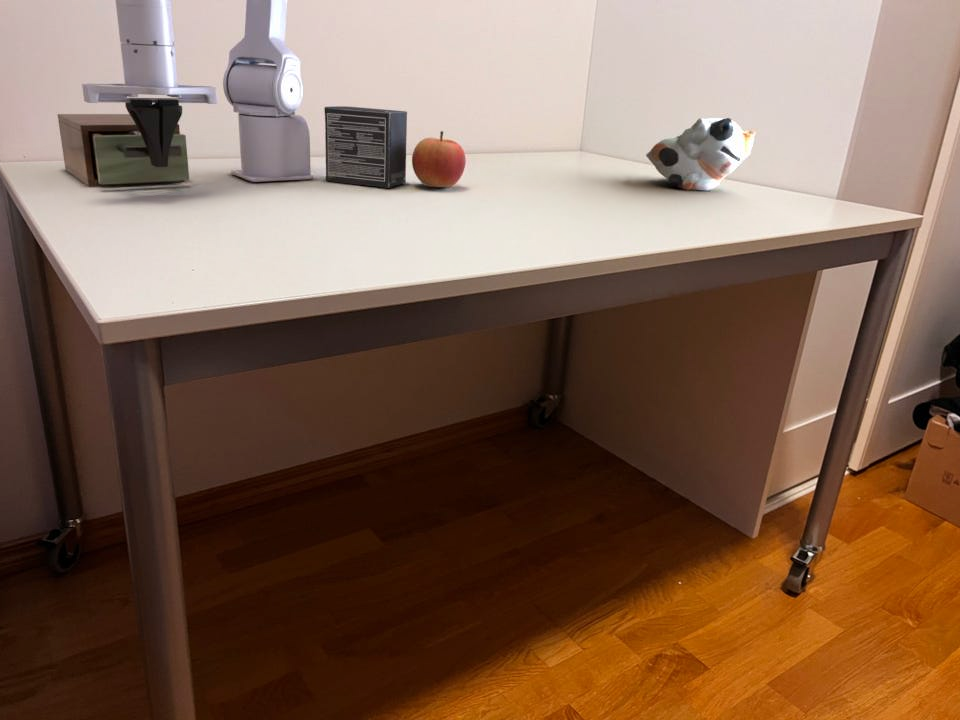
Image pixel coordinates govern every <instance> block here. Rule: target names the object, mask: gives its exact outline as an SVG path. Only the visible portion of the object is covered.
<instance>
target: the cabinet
mask: <svg viewBox="0 0 960 720" xmlns="http://www.w3.org/2000/svg"><path fill="white" fill-rule="evenodd" d="M57 120H58V121H57V122H58V127H59V135H60V142H61V148H62V156H63V163H64V169H65V171H66V172H67V173H69V174H70V175H71V176H73V177H75V178H76V179H77V180H79V181H80V182H82V183H83V184H85V185H86V186H87V187H105V186H123V185H124V186H125V185H143V184H144V185H145V184H163V183H181V182H185V180H181V181H161V182H141V183H121V184H100V183H99V181H98V176H97V175H96V174H94V173H93V165H92V157H91V150H90V142H89V135H88V131H139V130H138V128H137V126H136V124H135V122H134V121H133V119H132V117H131V116H130V114H129V113H57ZM174 134H181V130H180V124H179V123H178V124H177V126H176V129H175V132H174Z"/></svg>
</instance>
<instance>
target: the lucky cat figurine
mask: <svg viewBox="0 0 960 720" xmlns="http://www.w3.org/2000/svg"><path fill="white" fill-rule="evenodd" d="M755 135H756V131H753V130H747V131H745V130H744V131H743V130H742V128H741V127H740V125H739V124H737V122H735V121H733V120H732V118H730V117H720V118H715V117H709V118H702V117H700V118H698V119H697V120H696V121H695V123H693V124H692V126H691V127H688V128H686V129H684V131H683V132H682V134H679V135H678V136H675V137H674V138H673V137H672V138H671V137H670V138H665V139H662V140H660V141H659V142H657V143H656V144H654V146H653V147H651V149H650V150H649V152H647V153H646V154H645V156H646V158H647V159H648V160H649V161H650V163H651V164H652V165H653V166H654V168H655V169H656V171H657V172H658V173H659V174H660V175H661V176H663V177H664V178H665V179H667V180H668V181H669V182H673V183H676V185H677V187H678V188H679V189H682V190H686V191H712V190H713V189H714V188H716V187H717V186H719V185H720V183H721V181H722V180H723V179H724V178H726V177H727V176H728V175H731V173H732V172H733V171H734V170H735V169H737V167H738V166H740V164H741V163H742V162H743V161H744V160H745V159H746V158H747V157H748V156H750V154H751V150H752V148H753V143H754V140H755V138H754V137H755Z"/></svg>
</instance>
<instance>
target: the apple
mask: <svg viewBox="0 0 960 720" xmlns="http://www.w3.org/2000/svg"><path fill="white" fill-rule="evenodd" d="M439 133H440V135H439V138H436V137H426V138H423V139H421V140H420V141H419V142H418V143H417V144H416V146H415V147H414V149H413V152H412V156H411V165H412V169H413V173H414V174H415V176H416V178H417V179H418V181H419V182H420V183H421V184H423V185H425V186H427V187H429V188H452V187H453V186H455V185H456V184H457V183H458V182H459V181H460V179H461V177H462V176H463V174H464V171H465V168H466V164H467V163H466V162H467V159H466V157H467V156H466V152H465V150H464V149H463V147H462V146H461V145H460V144H459V143H458V142H456V141H454V140H452V139H444V138H443V136H444V131H443V130H441V131H440V132H439Z"/></svg>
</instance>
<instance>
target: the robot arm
mask: <svg viewBox="0 0 960 720" xmlns="http://www.w3.org/2000/svg"><path fill="white" fill-rule="evenodd" d="M245 5H246V6H245V20H244V21H245V23H244V35H243V38H241V40H239V42H238V43H236V44H235V45H234V46H233V47H232V48H231V49H230V50H229V52H228V53H229V55H228V62H227V67H226V69H225V70H224V73H223V79H222V87H223V93H224V95H225V99H226V100H227V102H228V103H229V105H230V106H232V107H233V109H232V110H233V113H236V114H237V113H238V114H237V118H238V119H237V120H238V134H239V151H240V152H239V153H240V168H241V169H234V170H231V175H233V176H237V177H239V178H241V179H243V180H245V181H248V182H250V183H258V182H262V183H263V182H279V181H282V182H283V181H299V180H300V181H301V180H313V179H314V176H313V175H312V174H311V173H312V172H311V137H310V136H311V134H310V130H309V126H308V123H307V121H306V119H305V118H304V116H302V115H299V114H296V111H297V110H298V108H299V107H300V105H301V103H302V100H303V96H304V95H303V94H304V86H303V82H302V77H301V76H302V75H301V64H302V63H301V60H300V59H299V58H298V56H297V55H296V54H295V53H294V52H293V51H292V50H291V49H290V48H289V47H288V46H287V44H286V43H285V42H286V28H287V25H286V24H287V15H288V14H287V12H288V0H246V3H245ZM115 8H116V17H117V25H118V34H119V43H120V51H121V60H122V70H123V78H124V79H123V80H124V83H81V87H82V94H83V101H84V102H85V103H88V104H99V103H118V104H119V103H121V104H122V103H123V104H125V109H126V111H127V114H130V116H131V117H132V119H133V121H134V122H135V124H136V126H137V128H138V130H139V132H140V134H141V136H142V138H143V140H144V143H145V145H146V148H147V151H148V154H149V157H150V161H151V165H153V166H155V167H168V159H169V152H170V146H171V142H172V138H173V135H174V132H175V129H176V126H177V124H179V121H180V120H181V118H182V115H183V105H180V104H207V105H217V104H218V94H217V93H218V92H217V87H215V86H211V85H183V84H179V83H178V72H177V61H176V60H177V59H176V49H175V36H174V27H173V26H174V25H173V15H172V3H171V0H115ZM139 95H147V96H148V95H150V96H167V97H139Z"/></svg>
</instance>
